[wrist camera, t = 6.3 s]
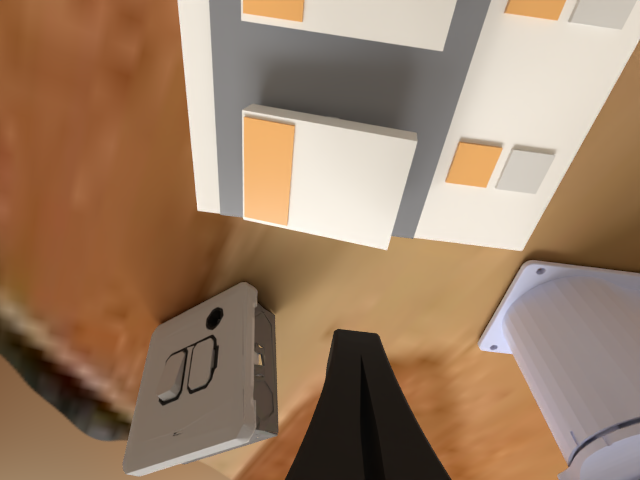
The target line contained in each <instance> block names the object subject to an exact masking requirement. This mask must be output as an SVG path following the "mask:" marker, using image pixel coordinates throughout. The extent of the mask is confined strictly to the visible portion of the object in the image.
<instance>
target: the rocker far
mask: <svg viewBox="0 0 640 480" xmlns="http://www.w3.org/2000/svg"><path fill="white" fill-rule="evenodd" d="M417 142H418V140H417V133H415V132H410V131H404V130H398V129H393V128H387V127H381V126H376V125H370V124H365V123H359V122H353V121H348V120H342V119H336V118H331V117H325V116H319V115H314V114H308V113H302V112H297V111H291V110H285V109H280V108H274V107H268V106H263V105H257V104H251V105H249V106H248V107H246V108H244V109H243V110H242V161H243V220H248V221H253V222H258V223H262V224H267V225H272V226H276V227H281V228H286V229H290V230H295V231H300V232H304V233H309V234H314V235H319V236H323V237H328V238H333V239H337V240H342V241H347V242H351V243H356V244H361V245H365V246H370V247H375V248H379V249H384V250H387V249H388V245H389V241H390V238H391V234H392V231H393V227H394V224H395V220H396V217H397V213H398V209H399V206H400V202H401V199H402V195H403V192H404V188H405V185H406V181H407V177H408V174H409V170H410V167H411V163H412V160H413V156H414V153H415V149H416V145H417Z"/></svg>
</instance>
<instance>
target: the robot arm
mask: <svg viewBox="0 0 640 480" xmlns="http://www.w3.org/2000/svg"><path fill="white" fill-rule="evenodd" d="M540 268H541V269H540ZM538 269H540V270H538ZM478 346H479V348H480V349H481V350H483V351H491V352H499V353H508V354H513V355H514V357H515V359H516V361H517V363H518V365H519V367H520V370H521V372H522V374H523V376H524V378H525V380H526V382H527V384H528V386H529V388H530V390H531V392H532V394H533V396H534V398H535V400H536V402H537V404H538V406H539V408H540V410H541V412H542V414H543V416H544V418H545V420H546V422H547V424H548V426H549V428H550V430H551V432H552V434H553V436H554V438H555V440H556V442H557V444H558V446H559V448H560V450H561V452H562V454H563V456H564V458H565V460H566V462H567V464H568V466H569V468H568V469H566V470H565V471H563V472H561V473H559V474H558V478H559V480H640V273H634V272H626V271H618V270H610V269H602V268H594V267H585V266H577V265H569V264H561V263H553V262H545V261H537V260H530V261H527V262H525V263H524V264H523V265H522V266H521V268H520V270H519V271H518V273H517V275H516V277H515V278H514V280H513V282H512V284H511V285H510V287H509V289H508V291H507V292H506V294H505V296H504V298H503V299H502V301H501V303H500V305H499V306H498V308H497V310H496V312H495V313H494V315H493V317H492V319H491V320H490V322H489V324H488V326H487V327H486V329H485V331H484V333H483V334H482V336H481V338H480V340H479V341H478ZM285 480H451V478H450V477H449V475H448V473H447V472H446V470H445V469H444V467H443V465H442V464H441V462H440V461H439V459H438V457H437V456H436V454H435V452H434V451H433V449H432V447H431V445H430V444H429V442H428V440H427V438H426V437H425V435H424V433H423V431H422V429H421V428H420V426H419V424H418V422H417V420H416V418H415V416H414V414H413V413H412V411H411V409H410V407H409V405H408V403H407V400H406V398H405V396H404V394H403V392H402V390H401V388H400V386H399V384H398V382H397V379H396V377H395V375H394V373H393V370H392V368H391V366H390V363H389V361H388V358H387V356H386V353H385V351H384V348H383V345H382V343H381V340H380V337H379V335H378V334H376V333H368V332H359V331H351V330H342V329H337V330H335V331H334V334H333V339H332V344H331V348H330V353H329V358H328V363H327V369H326V379H325V383H324V386H323V390H322V393H321V396H320V398H319V401H318V404H317V406H316V409H315V412H314V415H313V417H312V420H311V422H310V425H309V427H308V430H307V432H306V435H305V437H304V439H303V442H302V444H301V446H300V448H299V451H298V453H297V455H296V457H295V460H294V462H293V464H292V466H291V468H290V470H289V472H288V474H287V476H286V478H285Z"/></svg>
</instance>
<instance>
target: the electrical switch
mask: <svg viewBox="0 0 640 480" xmlns="http://www.w3.org/2000/svg"><path fill="white" fill-rule="evenodd" d="M257 294H258V291H257V290H256V288H255V287H253V286H252V285H250V284H248V283H247V282H241V283H239V284H237V285H235V286H233V287H231V288H229V289H227V290H226V291H224V292H222V293H220V294H218V295H216V296H214V297H212V298H210V299H208V300H207V301H205V302H203V303H201V304H199V305H197V306H195V307H193V308H191V309H189V310H188V311H186V312H184V313H182V314H180V315H178V316H176V317H174V318H172V319H170V320H169V321H167V322H165V323H163V324H161V325H159V326H158V327H157V328H156V329H155V331H154V333H153V334H152V337H151V341H150V345H149V350H148V354H147V358H146V363H145V367H144V372H143V376H142V381H141V385H140V389H139V394H138V398H137V403H136V407H135V411H134V416H133V420H132V425H131V429H130V434H129V438H128V442H127V447H126V451H125V456H124V460H123V470H124V472H125V474H128V475H134V476H142V475H146V474H149V473H152V472H155V471H158V470H161V469H165V468H168V467H171V466H174V465H177V464H187V463H190V462H194V461H197V460H200V459H203V458H206V457H210V456H213V455H216V454H219V453H223V452H226V451H229V450H232V449H236V448H239V447H242V446H245V445H249V444H252V443H255V442H258V441H261V440H265V439H268V438H271V437H274V436H277V433H278V403H277V371H276V338H275V315H274V314H272V313H270V312H269V311H267V310H265V309H264V308H263V307H262V306H261V305H260V304H259V303H257ZM258 344H259V345H260V346H261V347H263V348H259V346H258ZM258 354H261V359H262V365H263V366H262V365H259V359H258ZM268 431H269V432H268ZM274 432H277V433H274Z"/></svg>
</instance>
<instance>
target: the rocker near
mask: <svg viewBox="0 0 640 480" xmlns="http://www.w3.org/2000/svg"><path fill="white" fill-rule="evenodd" d="M456 2H457V0H241V21H247V22H253V23H260V24H266V25H273V26H279V27H286V28H293V29H299V30H306V31H312V32H319V33H325V34H332V35H338V36H345V37H351V38H358V39H364V40H371V41H378V42H384V43H391V44H397V45H404V46H410V47H417V48H423V49H430V50H436V51H443V48H444V45H445V41H446V38H447V34H448V31H449V27H450V24H451V20H452V16H453V13H454V9H455V6H456Z"/></svg>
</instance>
